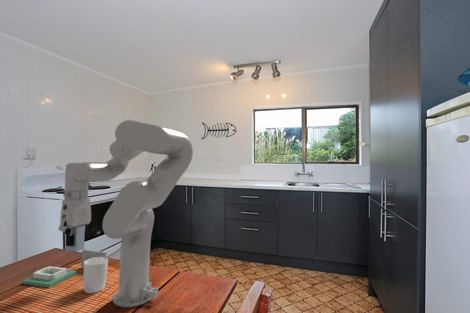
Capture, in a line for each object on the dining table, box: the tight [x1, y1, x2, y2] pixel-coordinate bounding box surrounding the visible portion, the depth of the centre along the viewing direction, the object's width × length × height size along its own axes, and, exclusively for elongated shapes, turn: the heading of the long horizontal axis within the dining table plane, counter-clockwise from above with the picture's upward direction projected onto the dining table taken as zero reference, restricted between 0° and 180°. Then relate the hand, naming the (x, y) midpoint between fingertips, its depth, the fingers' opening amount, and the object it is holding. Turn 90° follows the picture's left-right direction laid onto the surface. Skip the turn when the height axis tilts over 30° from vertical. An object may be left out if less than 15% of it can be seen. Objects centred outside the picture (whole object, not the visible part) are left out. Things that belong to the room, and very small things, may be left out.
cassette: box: [80, 248, 108, 267], centre depth 108 cm, size 12×2×8 cm, turn 76°
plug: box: [64, 225, 86, 253], centre depth 95 cm, size 6×4×9 cm, turn 78°
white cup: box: [83, 257, 109, 294], centre depth 91 cm, size 8×8×10 cm
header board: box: [22, 265, 78, 288], centre depth 98 cm, size 12×12×3 cm
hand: (74, 243), depth 94 cm, fingers closed on plug, 3 cm apart
